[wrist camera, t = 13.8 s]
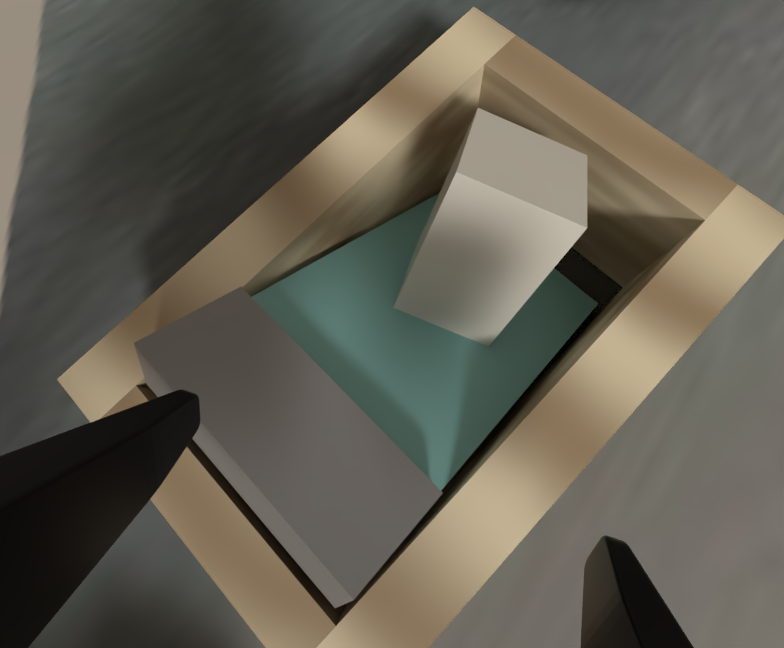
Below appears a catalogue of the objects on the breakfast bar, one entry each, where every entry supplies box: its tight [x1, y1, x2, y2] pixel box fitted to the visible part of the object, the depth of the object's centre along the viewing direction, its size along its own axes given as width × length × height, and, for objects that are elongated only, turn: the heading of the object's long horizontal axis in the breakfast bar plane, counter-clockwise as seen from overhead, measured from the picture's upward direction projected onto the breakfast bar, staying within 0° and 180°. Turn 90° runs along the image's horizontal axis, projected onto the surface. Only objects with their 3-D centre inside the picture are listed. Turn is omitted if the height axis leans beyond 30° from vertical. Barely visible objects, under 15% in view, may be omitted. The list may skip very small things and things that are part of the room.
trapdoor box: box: [57, 7, 784, 648], centre depth 20 cm, size 23×16×7 cm
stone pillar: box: [393, 108, 587, 347], centre depth 18 cm, size 4×4×7 cm
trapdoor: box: [134, 193, 598, 608], centre depth 20 cm, size 18×10×3 cm, turn 134°
